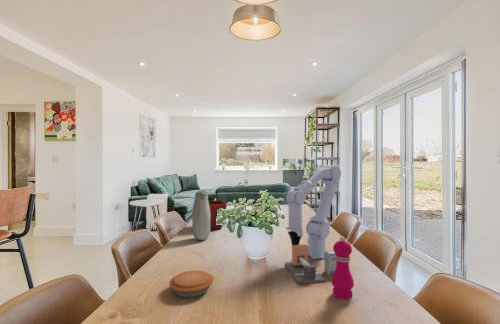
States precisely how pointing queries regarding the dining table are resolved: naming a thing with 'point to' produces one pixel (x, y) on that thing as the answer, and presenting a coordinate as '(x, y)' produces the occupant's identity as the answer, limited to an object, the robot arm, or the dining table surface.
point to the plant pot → (215, 212)
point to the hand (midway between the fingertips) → (295, 248)
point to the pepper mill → (342, 270)
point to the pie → (191, 283)
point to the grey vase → (201, 216)
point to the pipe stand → (304, 272)
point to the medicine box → (329, 262)
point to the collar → (299, 253)
